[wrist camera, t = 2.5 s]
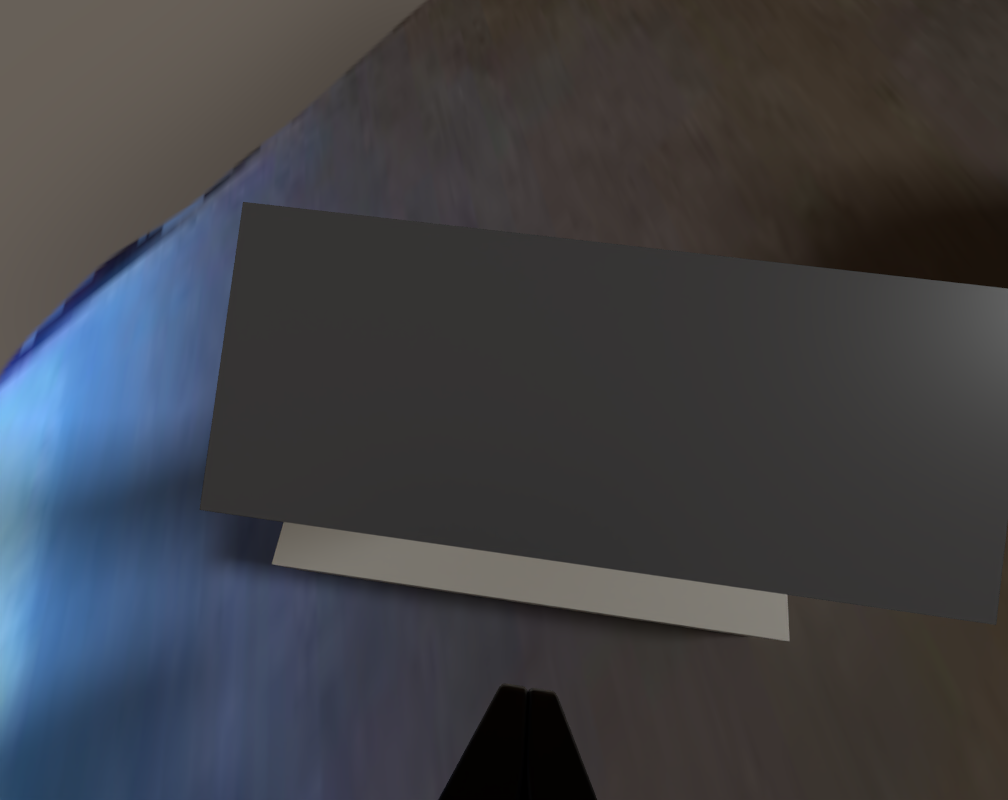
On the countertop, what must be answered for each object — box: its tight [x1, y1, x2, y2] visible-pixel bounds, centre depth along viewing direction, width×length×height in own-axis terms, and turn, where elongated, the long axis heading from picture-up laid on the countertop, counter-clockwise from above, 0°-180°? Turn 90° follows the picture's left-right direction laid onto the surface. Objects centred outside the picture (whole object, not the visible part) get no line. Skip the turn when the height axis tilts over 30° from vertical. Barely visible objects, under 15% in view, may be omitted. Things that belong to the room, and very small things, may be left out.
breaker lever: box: [200, 202, 1008, 625], centre depth 10 cm, size 2×7×12 cm, turn 82°
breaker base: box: [272, 522, 789, 641], centre depth 16 cm, size 11×14×5 cm
